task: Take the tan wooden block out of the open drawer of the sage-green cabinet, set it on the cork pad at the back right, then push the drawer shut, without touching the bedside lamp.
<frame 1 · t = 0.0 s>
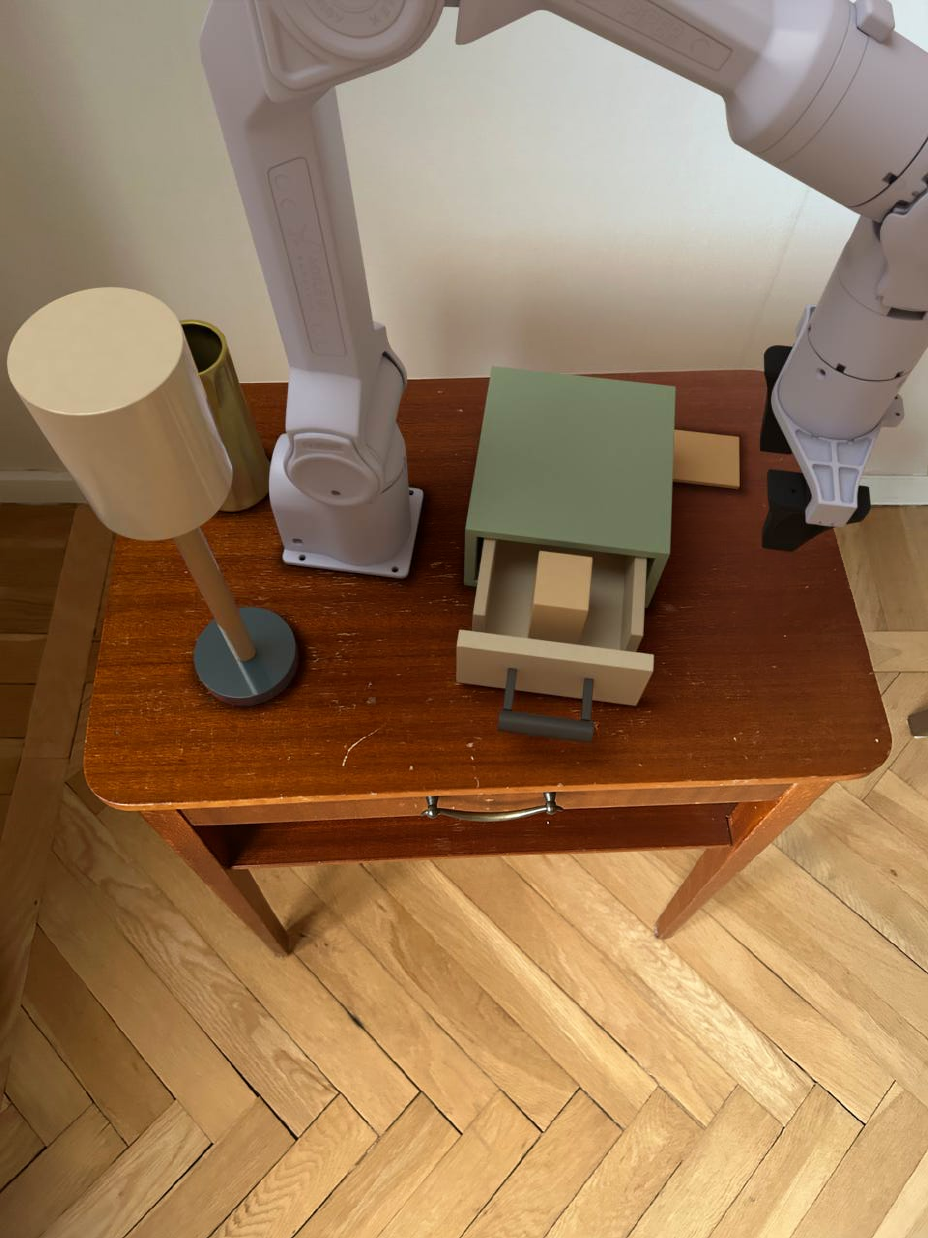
hand: (776, 495, 57), 10 cm above the table, tool pointing down, fingers open, 7 cm apart
pad: (700, 459, 71), on the table
cabinet: (563, 515, 68), on the table
lamp: (249, 660, 62), on the table
vase: (235, 482, 69), on the table
tan wooden block: (553, 622, 61), point 2 cm above the table, touching drawer
drawer: (556, 615, 60), point 4 cm above the table, slide at 7.0 cm, touching tan wooden block
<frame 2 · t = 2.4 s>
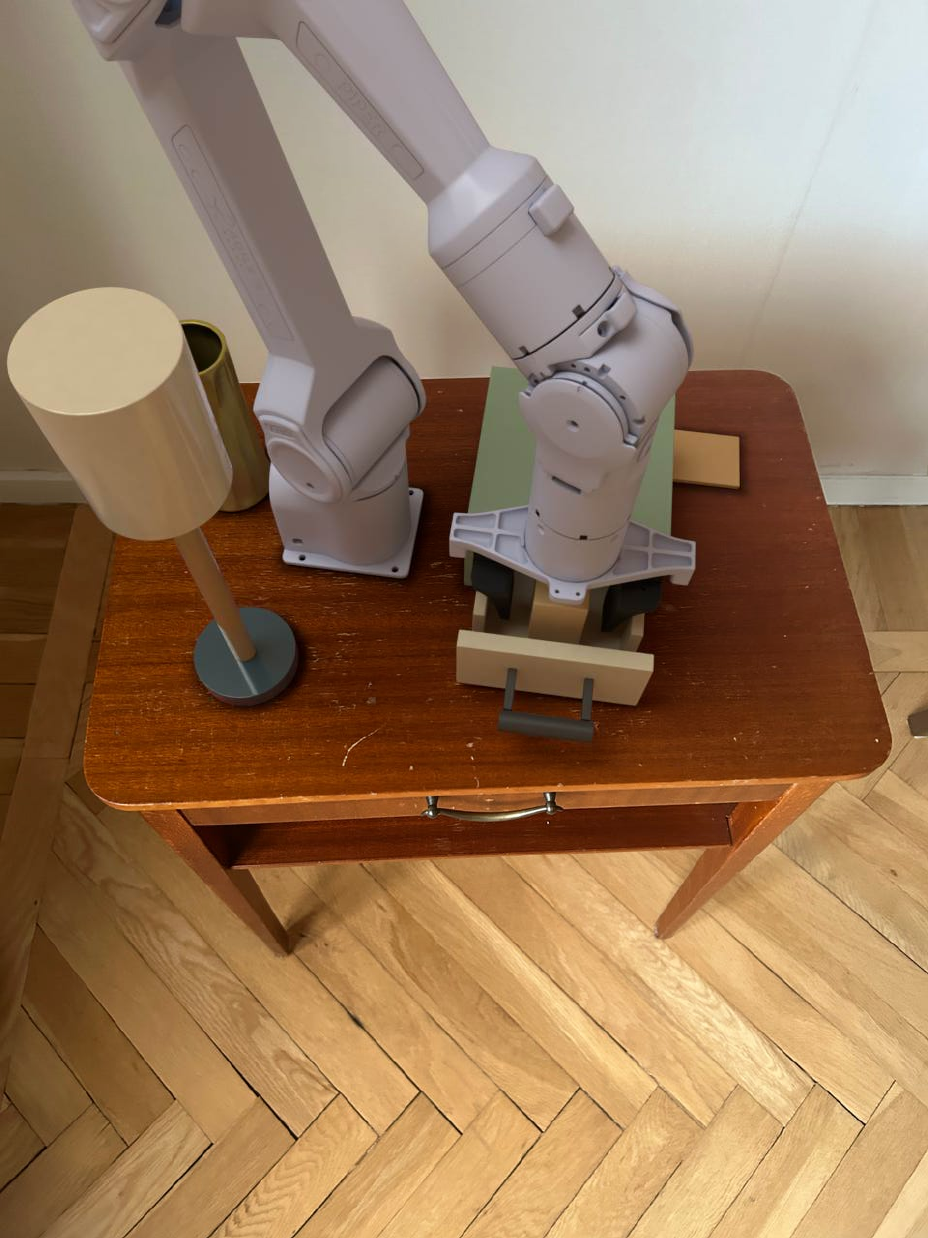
hand: (556, 613, 60), 3 cm above the table, tool pointing down, fingers open, 6 cm apart
drawer: (556, 615, 60), point 4 cm above the table, slide at 7.0 cm, touching gripper, tan wooden block
everything else where it was.
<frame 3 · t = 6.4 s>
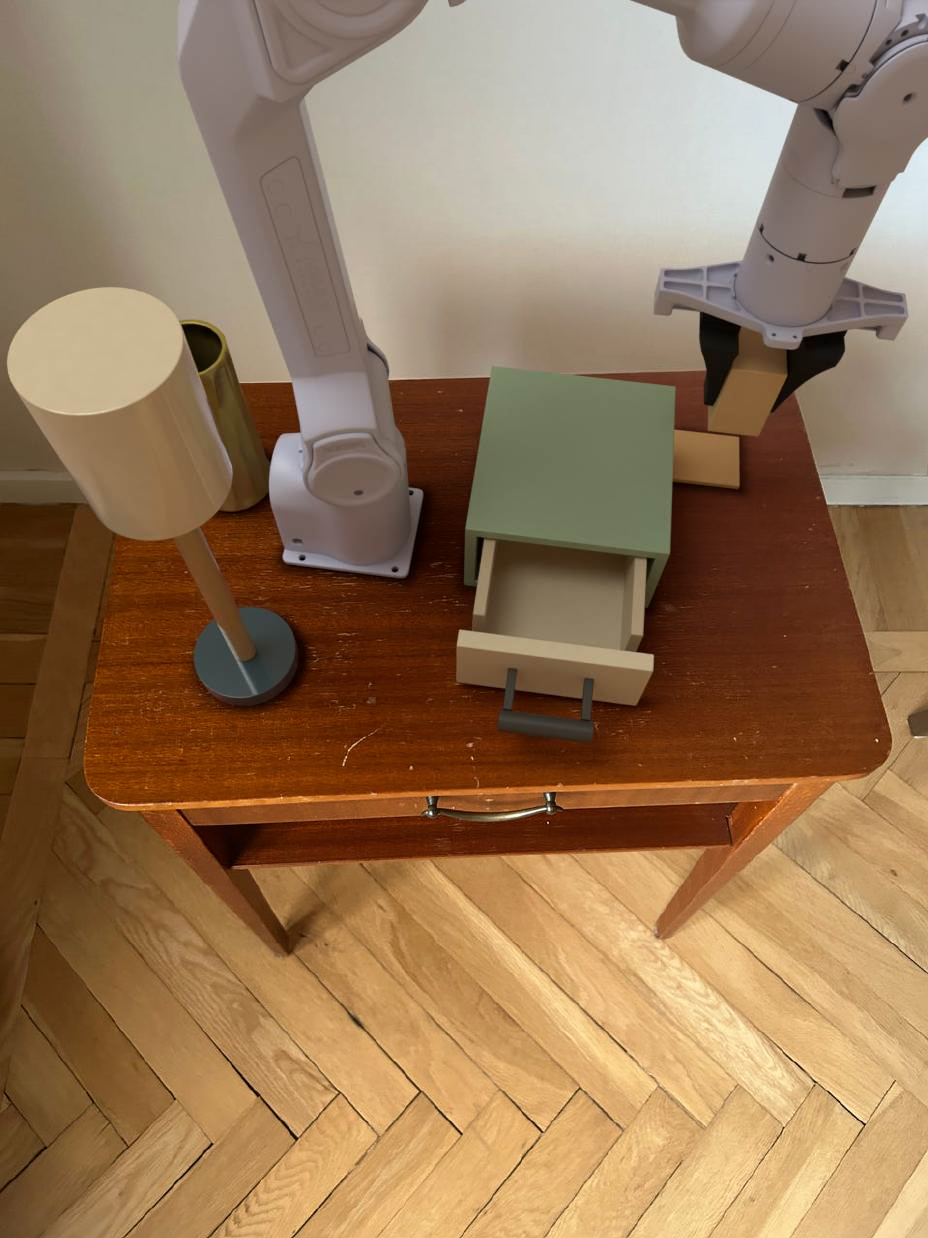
hand: (738, 397, 60), 10 cm above the table, tool pointing down, fingers closed on tan wooden block, 3 cm apart
tan wooden block: (732, 412, 61), point 9 cm above the table, touching gripper
drawer: (556, 615, 60), point 4 cm above the table, slide at 7.0 cm
everything else where it was.
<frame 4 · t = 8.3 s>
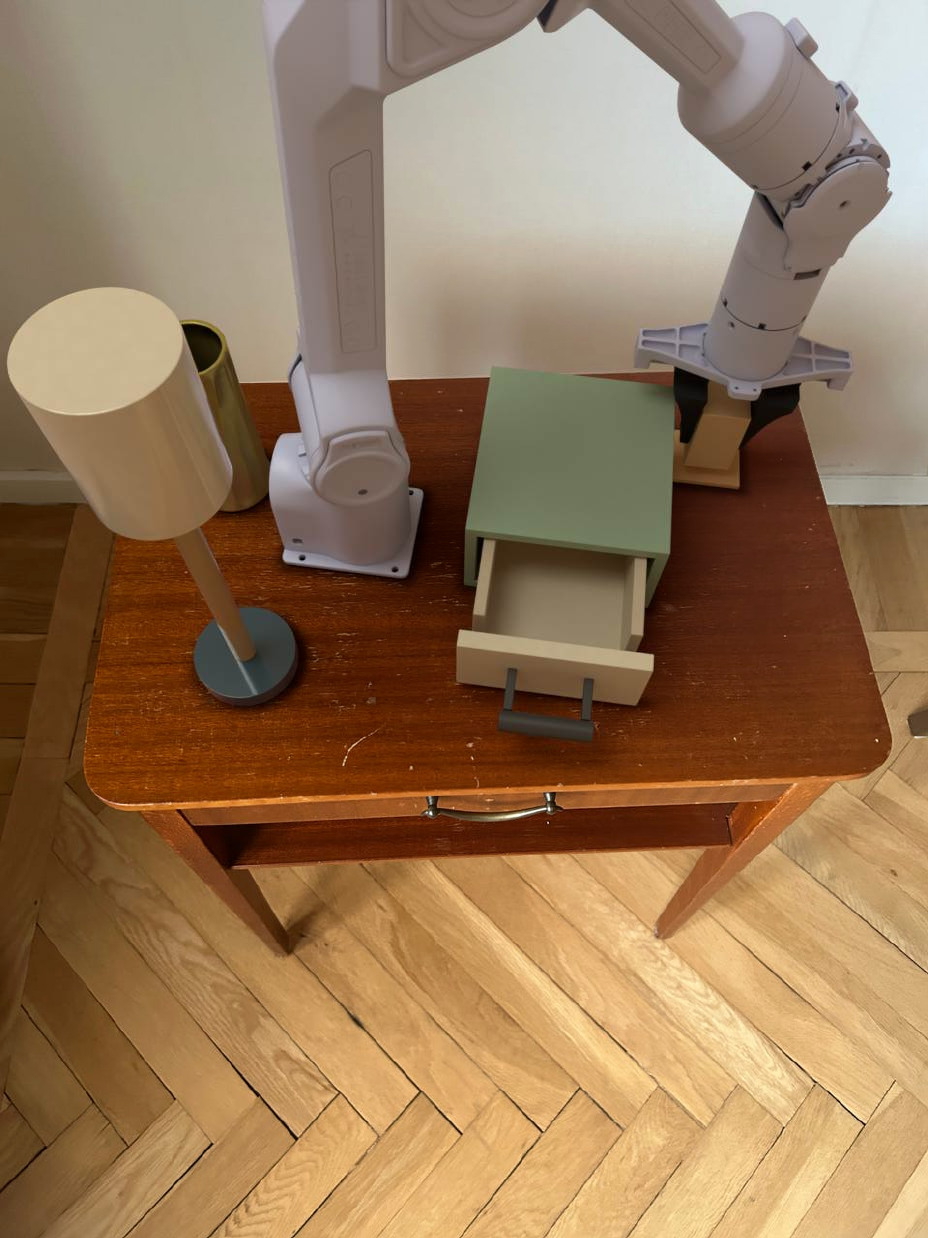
hand: (710, 436, 68), 3 cm above the table, tool pointing down, fingers closed on tan wooden block, 3 cm apart
tan wooden block: (706, 447, 69), point 2 cm above the table, touching gripper
everything else where it was.
when the fingers open (2 cm above the table, at t = 10.4 s): tan wooden block stays where it is, resting on pad.
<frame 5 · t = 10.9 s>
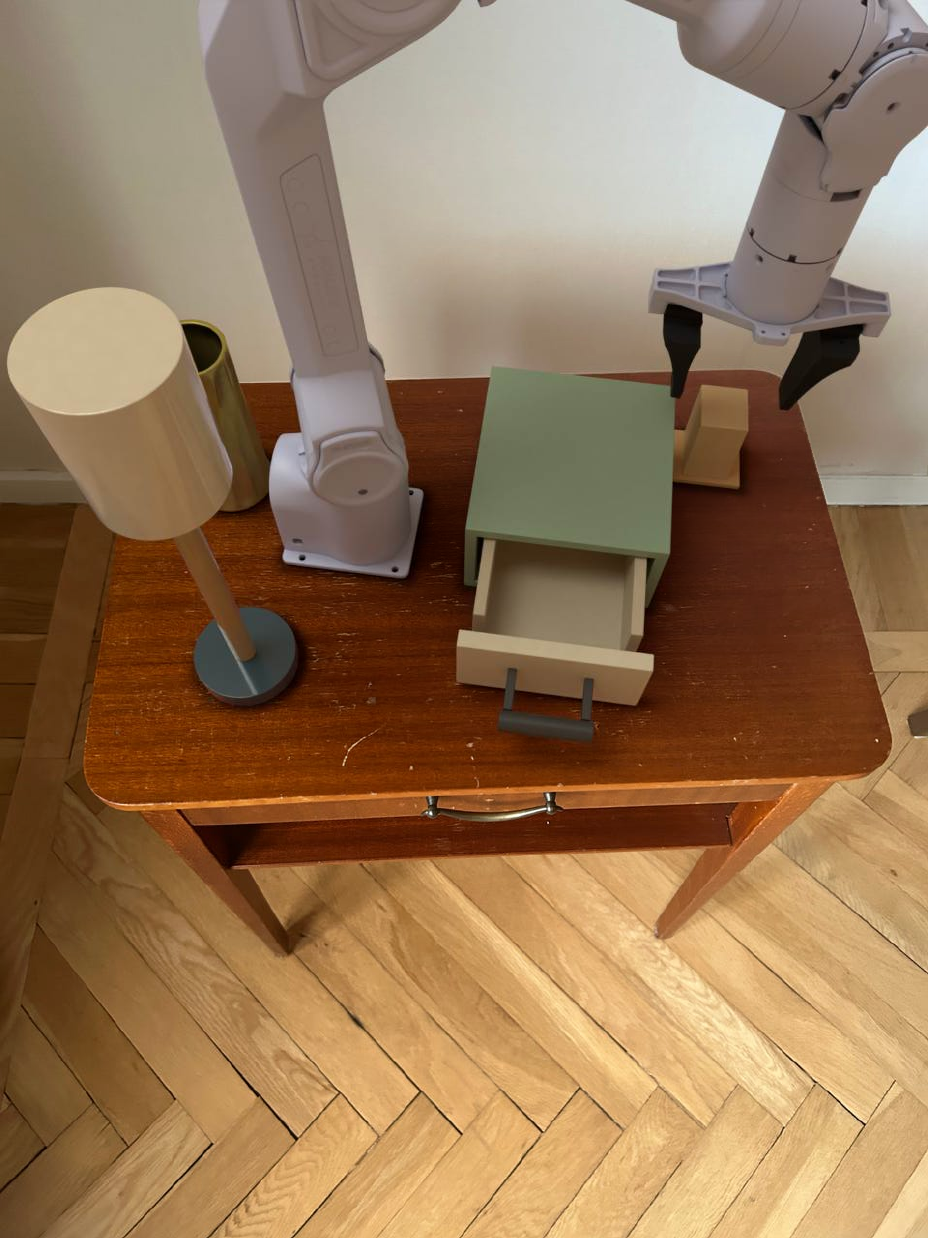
hand: (729, 393, 62), 9 cm above the table, tool pointing down, fingers open, 7 cm apart
tan wooden block: (704, 457, 70), resting on pad
everything else where it was.
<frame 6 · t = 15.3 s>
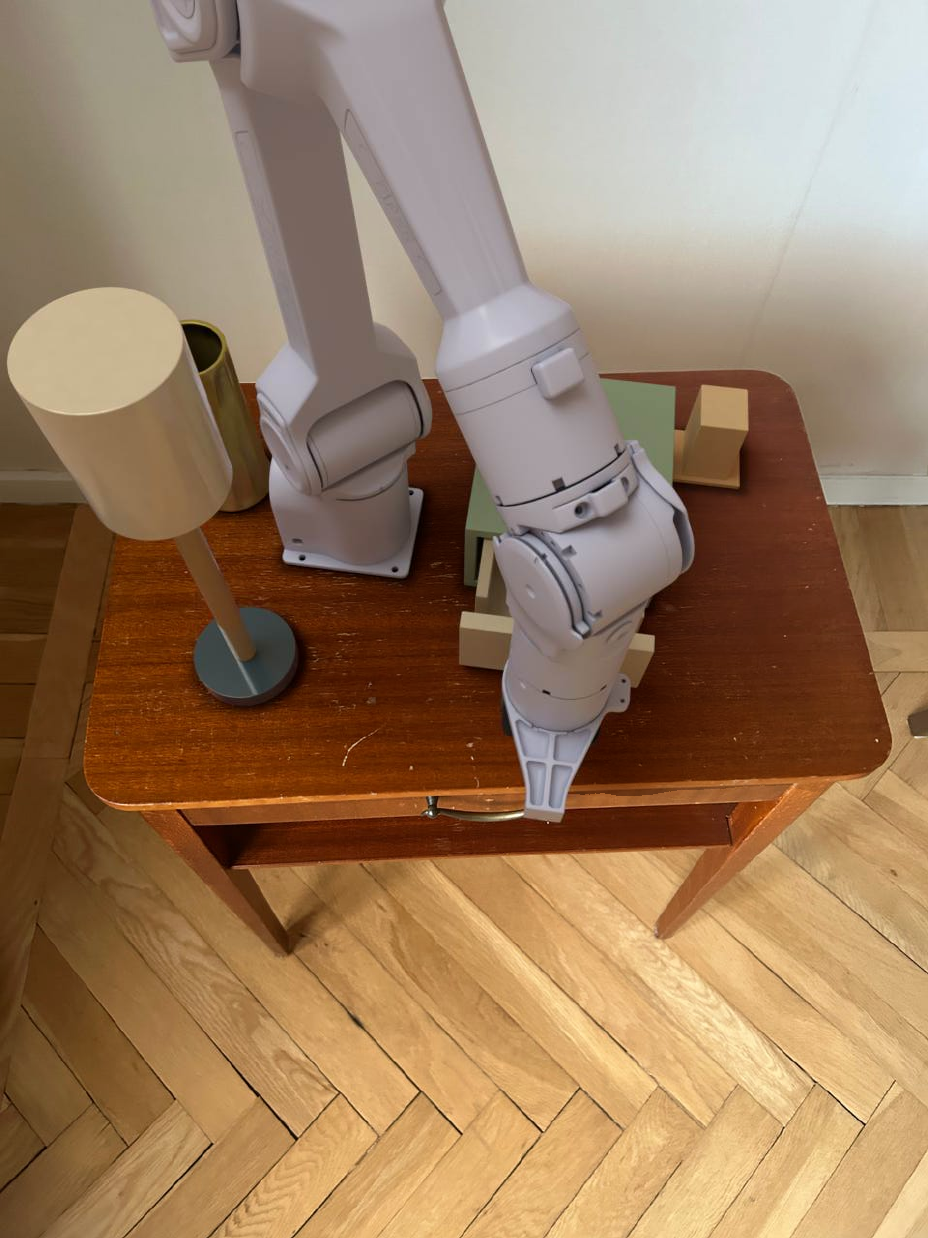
hand: (542, 739, 56), 3 cm above the table, tool pointing down, fingers closed
drawer: (557, 598, 60), point 4 cm above the table, slide at 5.6 cm, touching gripper
everything else where it was.
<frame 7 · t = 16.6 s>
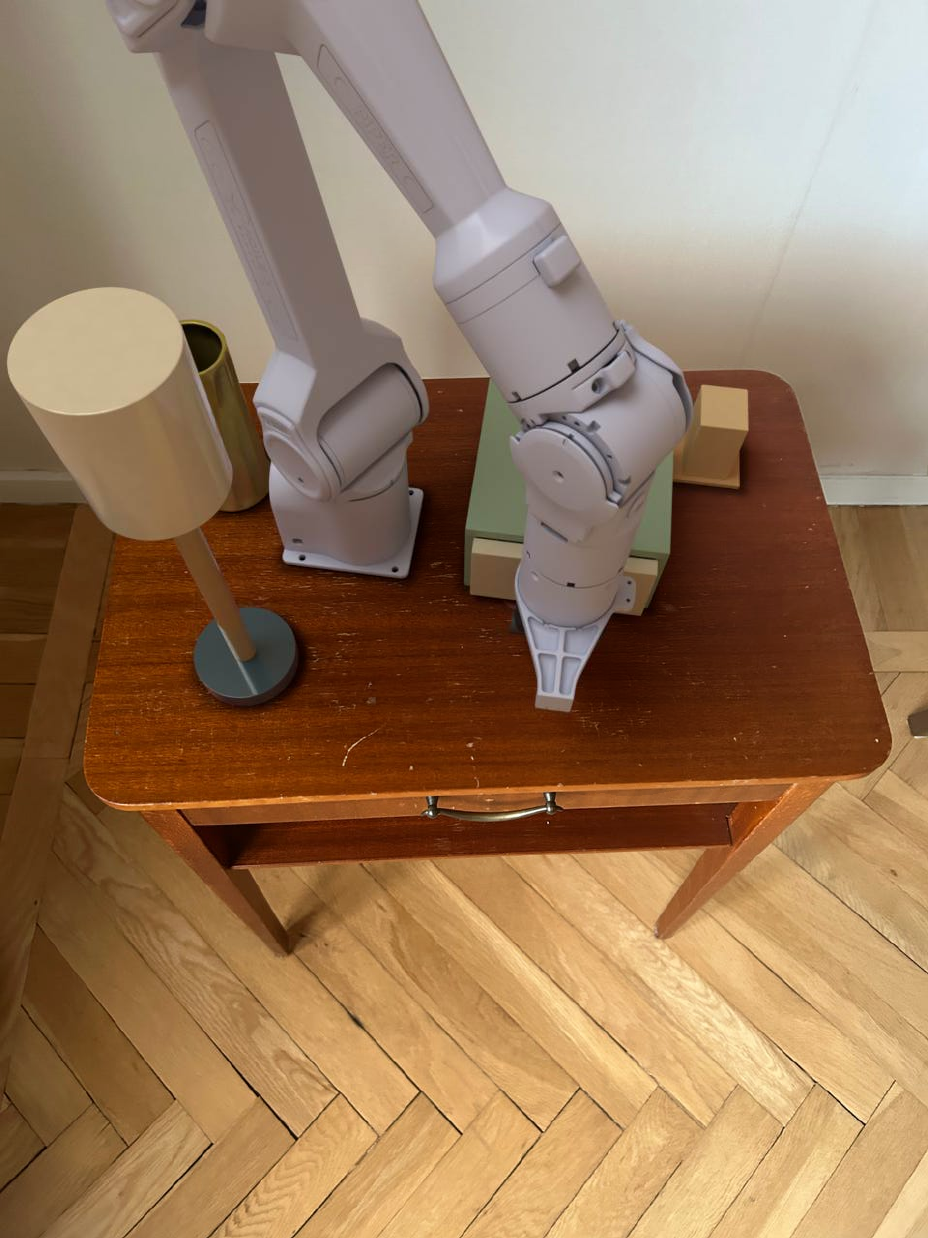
hand: (551, 651, 59), 3 cm above the table, tool pointing down, fingers closed, pressing on drawer
drawer: (564, 530, 63), point 4 cm above the table, slide at 0.0 cm, touching cabinet, gripper
everything else where it was.
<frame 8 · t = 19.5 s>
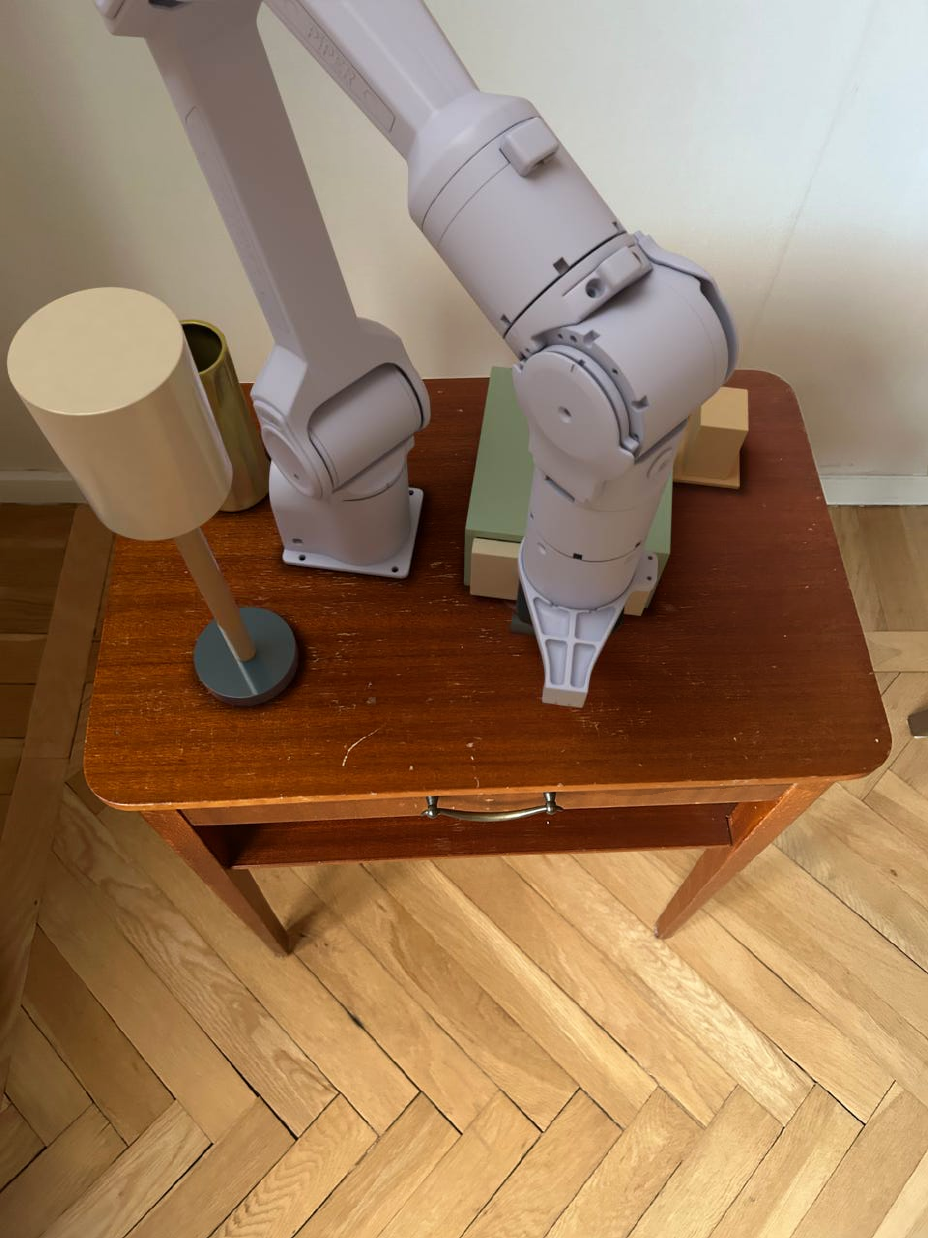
hand: (559, 639, 52), 9 cm above the table, tool pointing down, fingers closed
drawer: (564, 530, 63), point 4 cm above the table, slide at 0.0 cm
everything else where it was.
at the end: tan wooden block 0.2 cm off-centre on the pad, point 0.4 cm above the pad's base; drawer slide at 0.0 cm; tan wooden block touching pad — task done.
